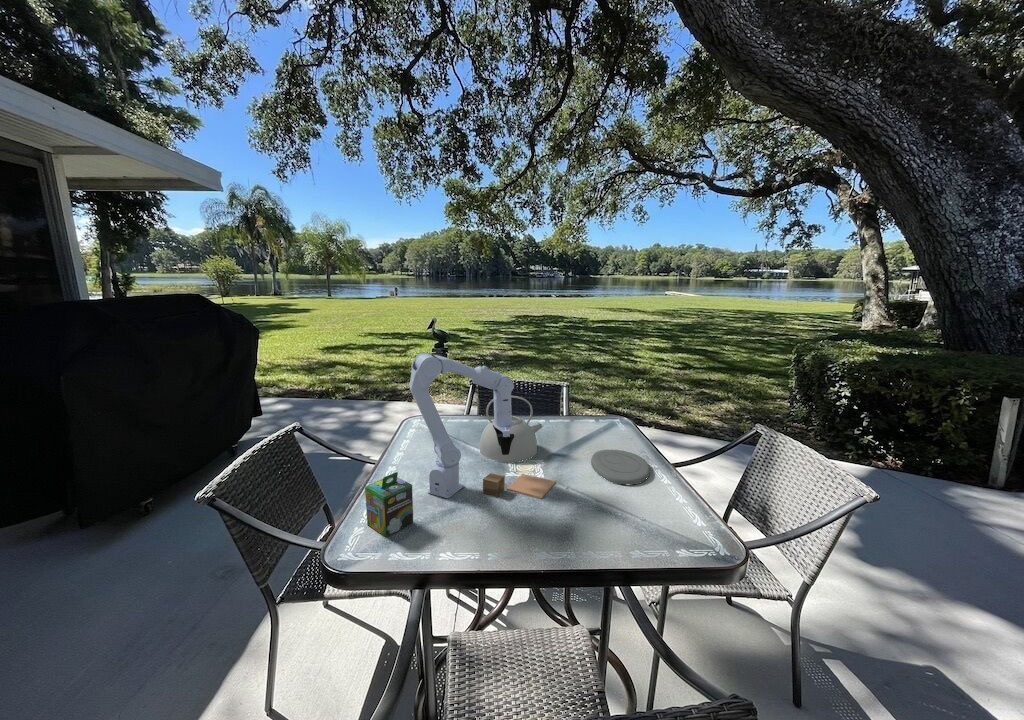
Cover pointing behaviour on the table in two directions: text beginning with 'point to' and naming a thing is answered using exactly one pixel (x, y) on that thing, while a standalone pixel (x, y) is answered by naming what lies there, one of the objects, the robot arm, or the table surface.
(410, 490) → the chalk box
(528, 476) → the terracotta tile
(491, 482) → the walnut block
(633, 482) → the frisbee
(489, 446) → the kettle
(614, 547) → the table surface
